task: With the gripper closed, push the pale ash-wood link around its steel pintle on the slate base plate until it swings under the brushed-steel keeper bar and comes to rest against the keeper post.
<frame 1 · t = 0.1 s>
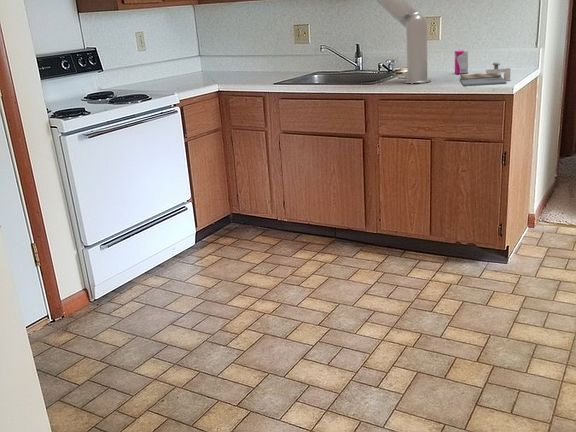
link: (480, 70, 289), point 4 cm above the worktop, hinge at 0.0°
base plate: (482, 81, 284), on the worktop
supplement box: (461, 74, 316), on the worktop
keeper: (506, 80, 282), resting in base plate
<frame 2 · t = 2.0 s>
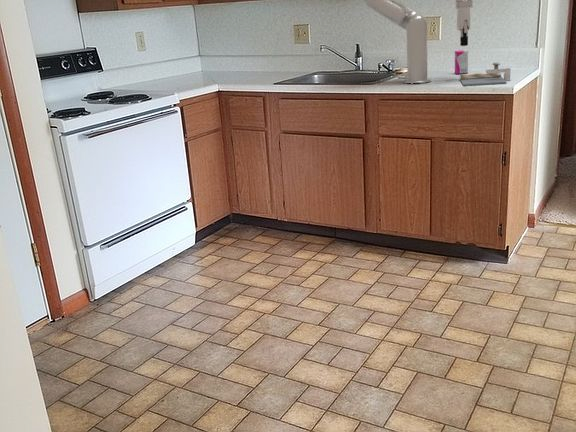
hand: (464, 45, 292), 16 cm above the worktop, tool pointing down, fingers closed
nothing on the worktop moved.
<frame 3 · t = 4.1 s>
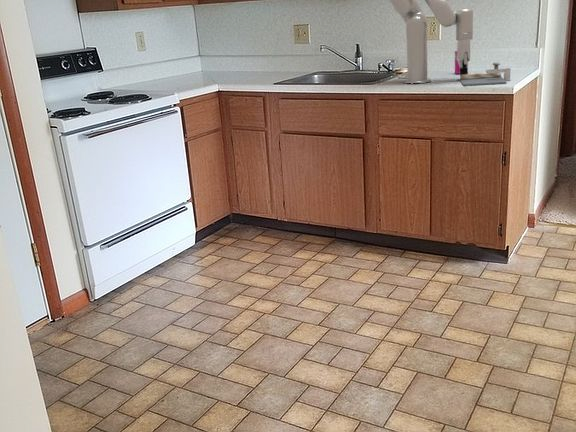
hand: (463, 76, 294), 2 cm above the worktop, tool pointing down, fingers closed
link: (480, 70, 289), point 4 cm above the worktop, hinge at 2.5°, touching gripper
everything else where it was.
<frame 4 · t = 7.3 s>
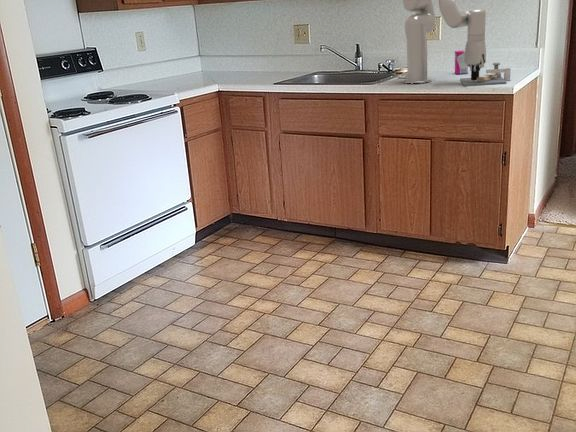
hand: (475, 79, 281), 2 cm above the worktop, tool pointing down, fingers closed
link: (489, 71, 283), point 4 cm above the worktop, hinge at 57.7°, touching gripper
everything else where it was.
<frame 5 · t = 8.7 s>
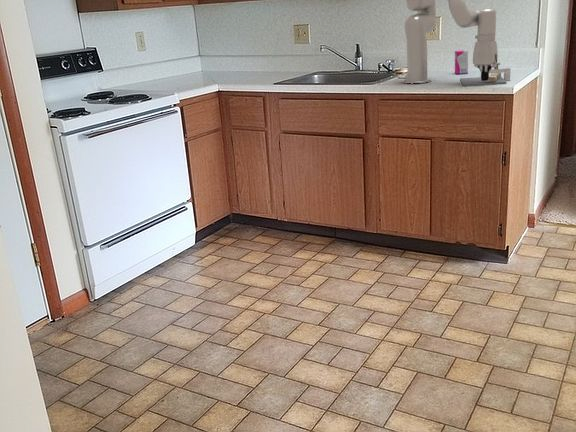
hand: (484, 80, 278), 2 cm above the worktop, tool pointing down, fingers closed
link: (494, 71, 282), point 4 cm above the worktop, hinge at 77.0°, touching gripper
everything else where it was.
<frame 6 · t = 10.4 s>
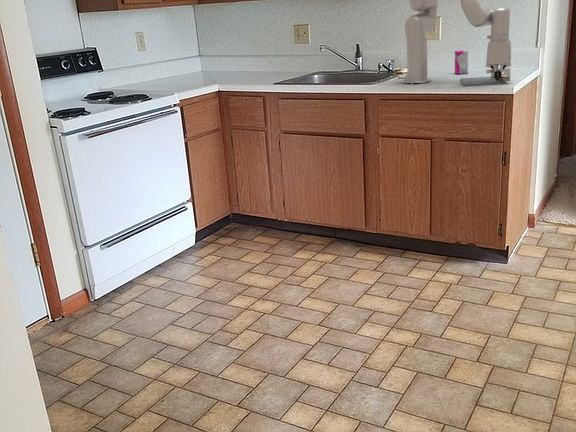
hand: (497, 80, 275), 1 cm above the worktop, tool pointing down, fingers closed
link: (500, 71, 281), point 4 cm above the worktop, hinge at 98.9°, touching gripper, keeper
everything else where it was.
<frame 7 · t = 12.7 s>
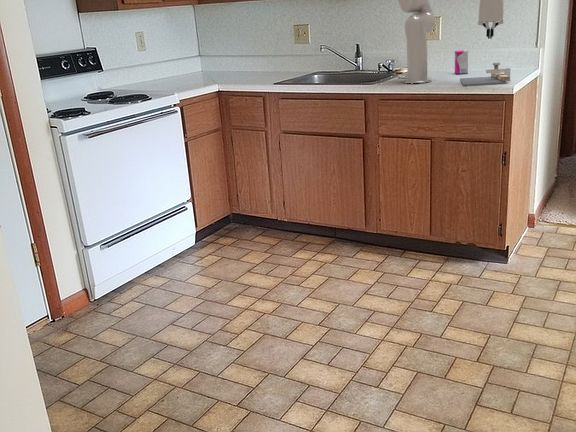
hand: (489, 38, 272), 20 cm above the worktop, tool pointing down, fingers closed
link: (500, 71, 281), point 4 cm above the worktop, hinge at 98.9°
everything else where it was.
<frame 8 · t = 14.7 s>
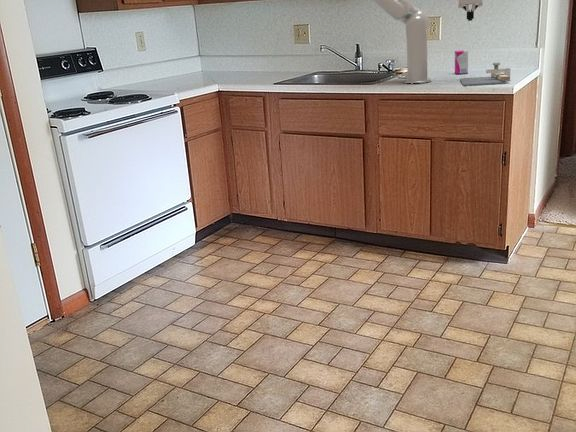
hand: (470, 20, 283), 27 cm above the worktop, tool pointing down, fingers closed
nothing on the worktop moved.
at the end: link at +99° (first picture: +0°) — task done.
